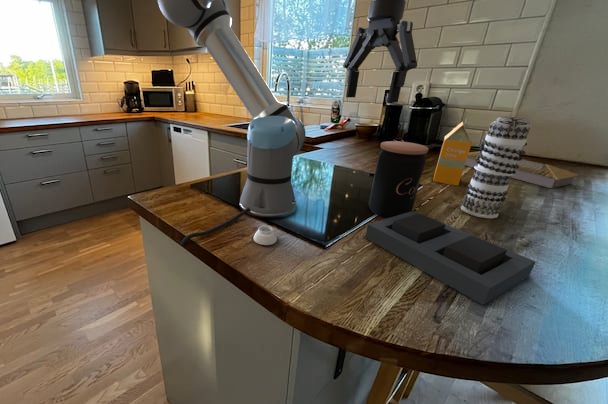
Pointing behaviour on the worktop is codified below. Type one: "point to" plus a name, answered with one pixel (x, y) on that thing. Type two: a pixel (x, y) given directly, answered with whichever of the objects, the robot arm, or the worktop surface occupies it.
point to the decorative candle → (496, 166)
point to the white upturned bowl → (265, 236)
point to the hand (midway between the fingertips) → (369, 99)
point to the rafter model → (534, 172)
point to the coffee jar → (397, 178)
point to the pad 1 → (418, 228)
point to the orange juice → (453, 156)
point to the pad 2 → (475, 254)
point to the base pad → (446, 270)
